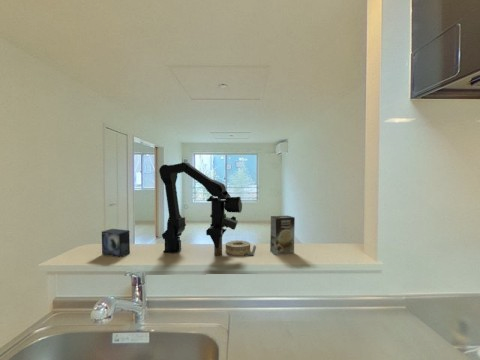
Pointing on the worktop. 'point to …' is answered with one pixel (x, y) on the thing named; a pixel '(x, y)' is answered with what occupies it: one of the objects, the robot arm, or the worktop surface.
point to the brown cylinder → (218, 250)
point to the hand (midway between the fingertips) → (218, 247)
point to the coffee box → (282, 234)
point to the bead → (238, 247)
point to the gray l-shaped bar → (252, 252)
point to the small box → (115, 242)
